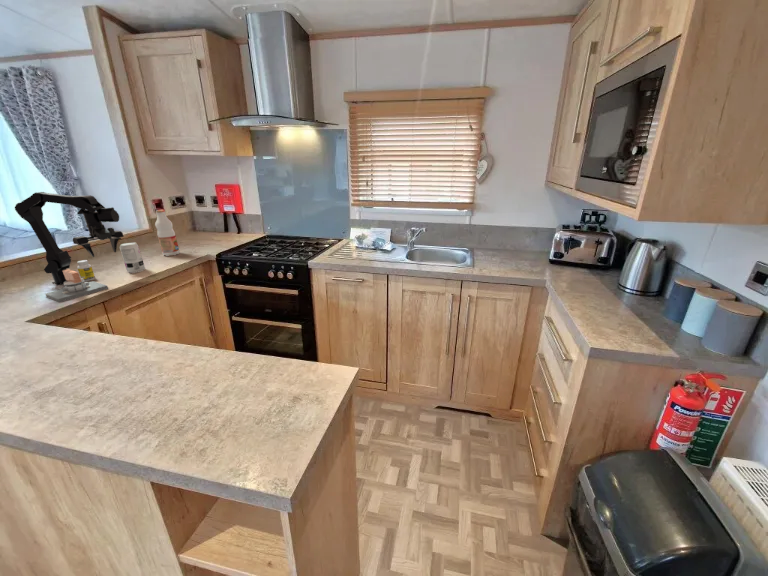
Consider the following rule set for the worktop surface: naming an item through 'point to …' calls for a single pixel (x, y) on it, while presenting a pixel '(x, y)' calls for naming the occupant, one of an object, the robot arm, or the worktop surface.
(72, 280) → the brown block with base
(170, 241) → the fruit juice
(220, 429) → the worktop surface
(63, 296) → the post plate
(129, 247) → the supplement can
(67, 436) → the worktop surface
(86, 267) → the supplement bottle
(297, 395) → the worktop surface
